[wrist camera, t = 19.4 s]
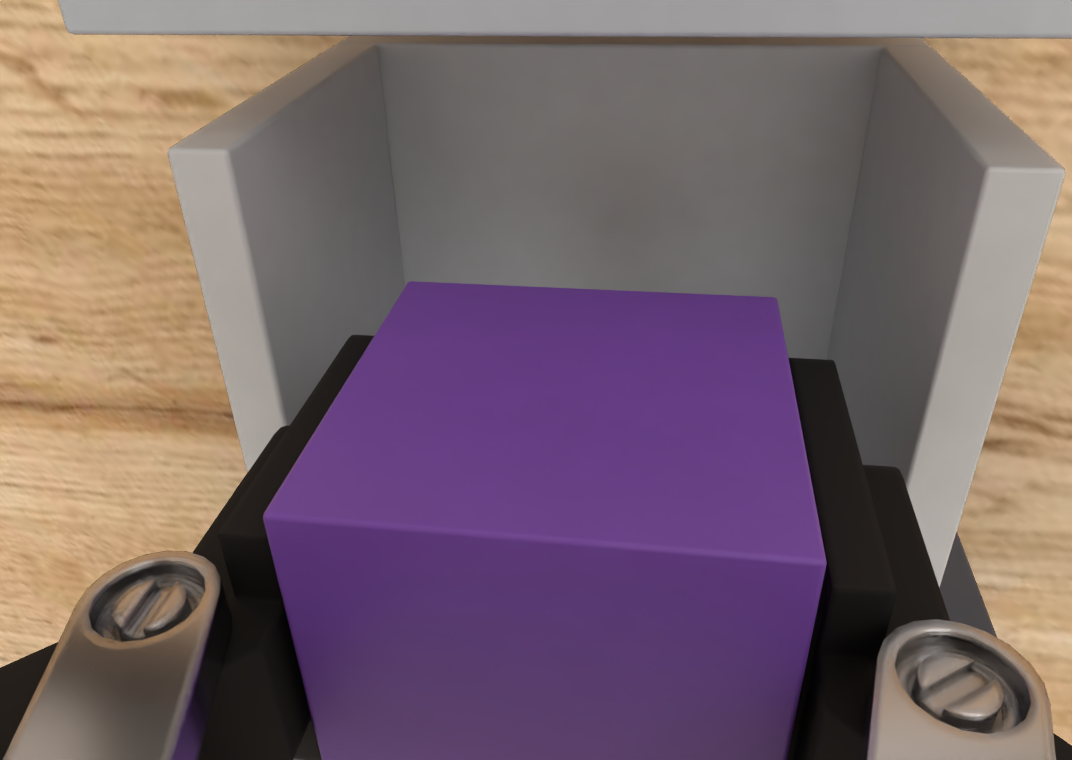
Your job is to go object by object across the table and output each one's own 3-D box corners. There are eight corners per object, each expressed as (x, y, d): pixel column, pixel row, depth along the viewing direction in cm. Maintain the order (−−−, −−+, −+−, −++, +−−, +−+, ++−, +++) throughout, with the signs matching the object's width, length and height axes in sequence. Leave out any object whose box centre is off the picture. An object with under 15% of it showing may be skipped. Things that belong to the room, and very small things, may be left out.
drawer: (240, -501, 13) (-180, -804, 7) (1094, -572, 11) (1595, -1063, 5) (385, 490, 22) (271, 741, 16) (853, 525, 21) (921, 819, 15)
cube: (407, 278, 11) (259, 514, 7) (778, 294, 10) (827, 563, 7) (437, 549, 13) (337, 833, 10) (740, 575, 13) (761, 889, 9)
